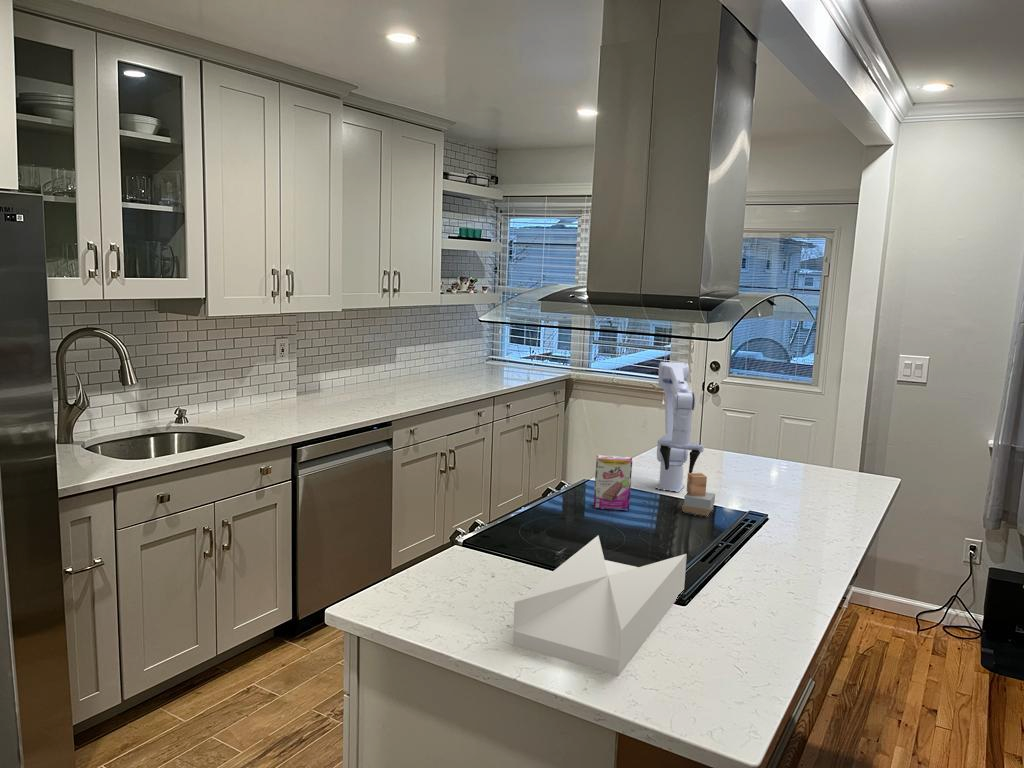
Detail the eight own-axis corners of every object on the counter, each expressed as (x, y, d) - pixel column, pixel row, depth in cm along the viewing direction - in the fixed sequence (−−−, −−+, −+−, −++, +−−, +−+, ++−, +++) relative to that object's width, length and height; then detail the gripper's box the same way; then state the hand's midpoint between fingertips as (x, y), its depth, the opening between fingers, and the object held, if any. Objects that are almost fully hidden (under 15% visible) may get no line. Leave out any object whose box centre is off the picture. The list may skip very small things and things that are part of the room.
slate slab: (688, 498, 247) (689, 489, 246) (714, 502, 243) (715, 493, 243) (683, 505, 239) (684, 496, 239) (710, 509, 236) (710, 500, 236)
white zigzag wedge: (596, 571, 193) (598, 535, 191) (683, 591, 183) (686, 553, 181) (512, 647, 153) (514, 602, 152) (618, 678, 143) (621, 630, 142)
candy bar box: (593, 509, 240) (596, 458, 238) (593, 504, 245) (595, 454, 243) (629, 511, 239) (632, 460, 237) (628, 507, 244) (632, 456, 242)
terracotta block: (686, 491, 244) (687, 473, 243) (700, 491, 245) (701, 473, 244) (691, 495, 240) (692, 476, 239) (705, 495, 240) (706, 476, 239)
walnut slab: (687, 507, 247) (688, 498, 247) (713, 511, 244) (713, 502, 243) (681, 514, 240) (682, 505, 240) (707, 518, 237) (708, 509, 236)
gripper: (656, 428, 247) (653, 470, 249) (701, 434, 241) (698, 477, 243) (662, 425, 253) (659, 465, 256) (706, 430, 247) (703, 472, 249)
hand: (678, 470), depth 250 cm, fingers open, 7 cm apart
